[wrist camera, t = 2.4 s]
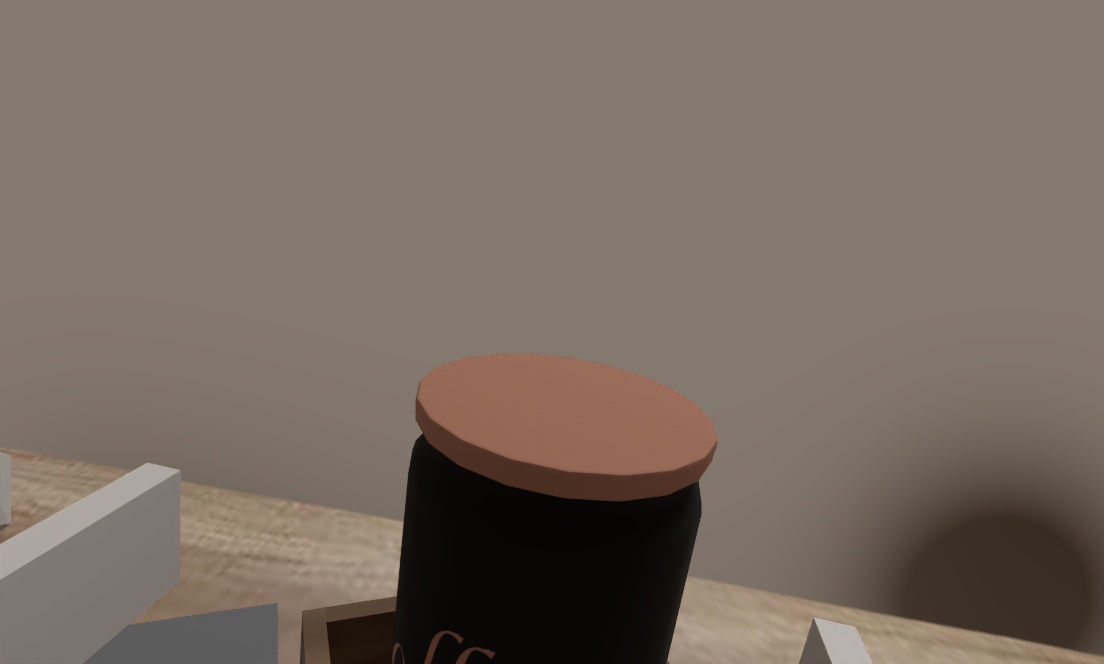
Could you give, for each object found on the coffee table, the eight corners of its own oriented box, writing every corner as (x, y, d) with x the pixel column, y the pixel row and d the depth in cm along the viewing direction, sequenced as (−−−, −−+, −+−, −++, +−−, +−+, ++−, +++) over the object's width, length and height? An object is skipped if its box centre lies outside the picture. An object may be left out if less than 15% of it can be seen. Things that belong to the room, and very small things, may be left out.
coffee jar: (343, 738, 27) (370, 360, 23) (539, 656, 34) (591, 346, 29) (445, 1013, 19) (520, 506, 14) (680, 837, 25) (784, 443, 21)
